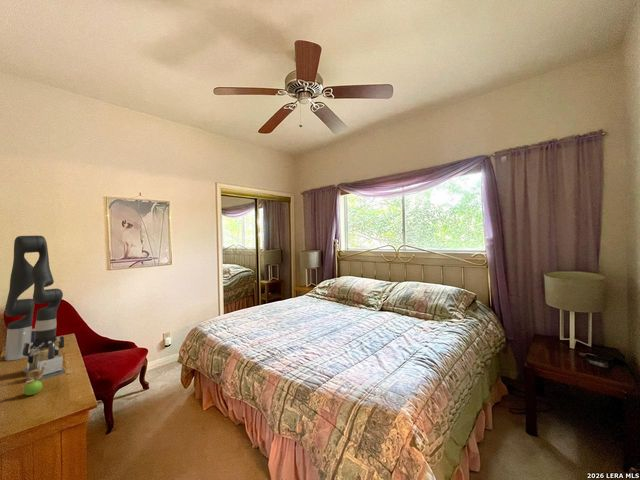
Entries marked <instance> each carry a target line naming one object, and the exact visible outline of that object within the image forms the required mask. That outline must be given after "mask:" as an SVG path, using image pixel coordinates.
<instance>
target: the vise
mask: <svg viewBox="0 0 640 480" xmlns="http://www.w3.org/2000/svg"><path fill="white" fill-rule="evenodd" d="M35 360H36V352H35V353H34V355H33V363H32V364H30V363H28V362H27V366H26V367H27V368H23V371H22V372H23V373H24V374H25V375H27V373H28V372H30V371H32V370H35ZM65 373H66V369H65V368H63V367H62V370H59V371H56V372H52V373H49V374H45V375H43V376H42V377H41V378H40V379H39V380H37V381H42V380H44V379H48V378H52V377H55V376H58V375H62V374H65Z"/></svg>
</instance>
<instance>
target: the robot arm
mask: <svg viewBox="0 0 640 480" xmlns="http://www.w3.org/2000/svg"><path fill="white" fill-rule="evenodd" d="M13 243H14V244H13V262H12V268H11V273H10V278H9V279H10V280H9V290H8V295H7V298H6V299H7V300H6V302H5V306H4V307H5V308H4V314H5V316H6V317H17V316H19V317H20V319H19V318H18V319H16V320H14V321H12V322H9V323H8V324H7V330H6V340H5V341H6V342H5V344H6V345H5V355H4V360H5V361H16V360H17V361H18V360H22V359H25V358H27V364H28V363H30V364H32V363H33V355H34V353H36V352H37V351H38V350H39V349H44V348H49V343H52V342H55V343H56V341H58V345H56V344H55V354H54V356H57V355H59V351H60V349H63V348H65V336H63V335H60V336H58V337H57V336H56V335H57V334H56V333H57V324H58V323H57V312H58V309H59V306H60V304H61V301H62V299H63V296H64V293H63V291H62V289H60V288H48V287H51V286H52V285H53V284H54V278H53V274H52V271H51V268H50V259H49V250H48V243H47V239H46V238H45V237H44V236H43V235H19V236H16V238H15V239H14V242H13ZM29 253H31V254H32V253H38V259H37V261H36V263H35V264H34V265H32V264H31V263H30V262H28V260H27V259H26V258H25V254H29ZM32 286H33V292H32V293H33V294H32V298H22V299H18V298H19V297H20V296H21V295H22V294H23V293H25V292H26V291H28V290H29V289H30V288H31V287H32ZM45 288H46V289H45ZM47 288H48V289H47ZM36 304H38V305H43V304H48V305H46V306H44V307H41V308H39V309H37V312H36V319H35V326H34V329H35V335H34V341H33V342H32V343H31V333H32V329H33V317H34V311H35V310H34V309H35V305H36ZM21 316H23V317H21ZM31 345H34V346H35V347H34V348H33V347H31Z"/></svg>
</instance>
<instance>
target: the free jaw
mask: <svg viewBox="0 0 640 480" xmlns="http://www.w3.org/2000/svg"><path fill="white" fill-rule="evenodd" d="M55 345H56V341H55V342H52V343H49V349H48V358H45V359H41V360H38V362H37V369H38V370H40V371H41V370H42V366H44V365H45V366H46V368H45V371H44V374H43V375H45V374H49V373H52V372H56V371H59V370H62V368H63V364H64V363H63V360H64V359H63V358H64V355H62V354H58V355H57V356H54V354H55ZM45 362H46V363H47V364H44V363H45Z"/></svg>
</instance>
